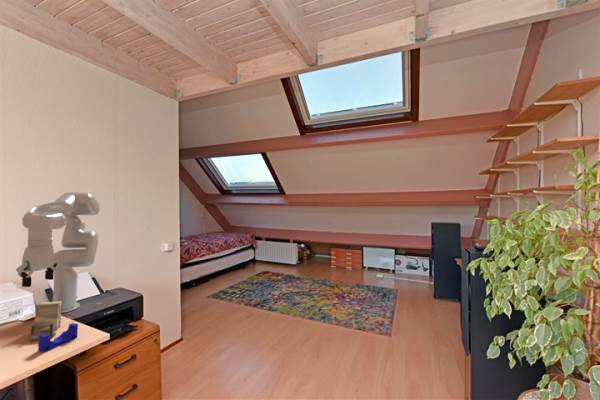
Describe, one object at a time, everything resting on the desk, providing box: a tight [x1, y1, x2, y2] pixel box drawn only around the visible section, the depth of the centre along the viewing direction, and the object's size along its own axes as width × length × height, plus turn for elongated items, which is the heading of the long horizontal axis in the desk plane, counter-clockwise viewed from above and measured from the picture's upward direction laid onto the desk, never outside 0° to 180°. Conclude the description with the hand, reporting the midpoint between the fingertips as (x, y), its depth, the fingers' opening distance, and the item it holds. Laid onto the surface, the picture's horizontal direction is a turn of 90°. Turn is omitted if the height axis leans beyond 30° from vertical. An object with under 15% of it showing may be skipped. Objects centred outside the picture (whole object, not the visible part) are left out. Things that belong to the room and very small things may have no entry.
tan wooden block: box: [34, 301, 62, 331], centre depth 120 cm, size 3×8×12 cm, turn 110°
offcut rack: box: [29, 324, 57, 342], centre depth 113 cm, size 4×7×6 cm, turn 110°
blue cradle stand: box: [37, 322, 79, 353], centre depth 110 cm, size 12×4×6 cm, turn 163°
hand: (38, 282), depth 114 cm, fingers open, 9 cm apart
